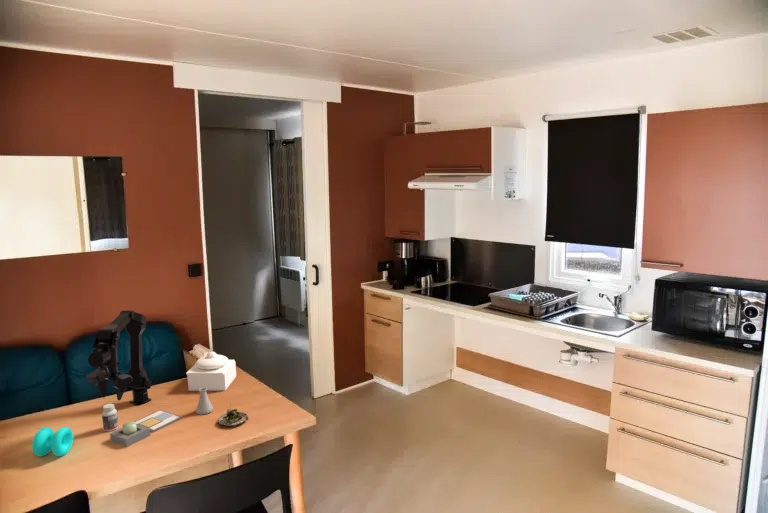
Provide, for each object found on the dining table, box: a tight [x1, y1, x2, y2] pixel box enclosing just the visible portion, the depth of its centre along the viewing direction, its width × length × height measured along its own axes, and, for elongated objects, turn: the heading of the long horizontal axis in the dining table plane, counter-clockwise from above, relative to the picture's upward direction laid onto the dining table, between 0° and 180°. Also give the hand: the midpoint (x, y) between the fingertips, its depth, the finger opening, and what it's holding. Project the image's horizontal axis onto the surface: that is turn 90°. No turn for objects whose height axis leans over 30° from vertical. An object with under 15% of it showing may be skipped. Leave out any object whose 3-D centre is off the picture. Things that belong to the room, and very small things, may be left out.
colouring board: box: [133, 409, 183, 433], centre depth 219 cm, size 14×14×1 cm
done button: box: [122, 421, 137, 436], centre depth 205 cm, size 5×5×4 cm
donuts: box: [31, 426, 74, 457], centre depth 194 cm, size 10×10×10 cm
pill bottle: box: [101, 403, 119, 432], centre depth 213 cm, size 5×5×10 cm
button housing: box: [109, 424, 151, 448], centre depth 205 cm, size 10×10×3 cm
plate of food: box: [217, 403, 249, 428], centre depth 217 cm, size 12×12×8 cm
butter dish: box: [185, 351, 237, 392], centre depth 256 cm, size 18×18×16 cm
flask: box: [195, 388, 214, 415], centre depth 227 cm, size 7×7×10 cm
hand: (111, 398), depth 211 cm, fingers open, 9 cm apart
